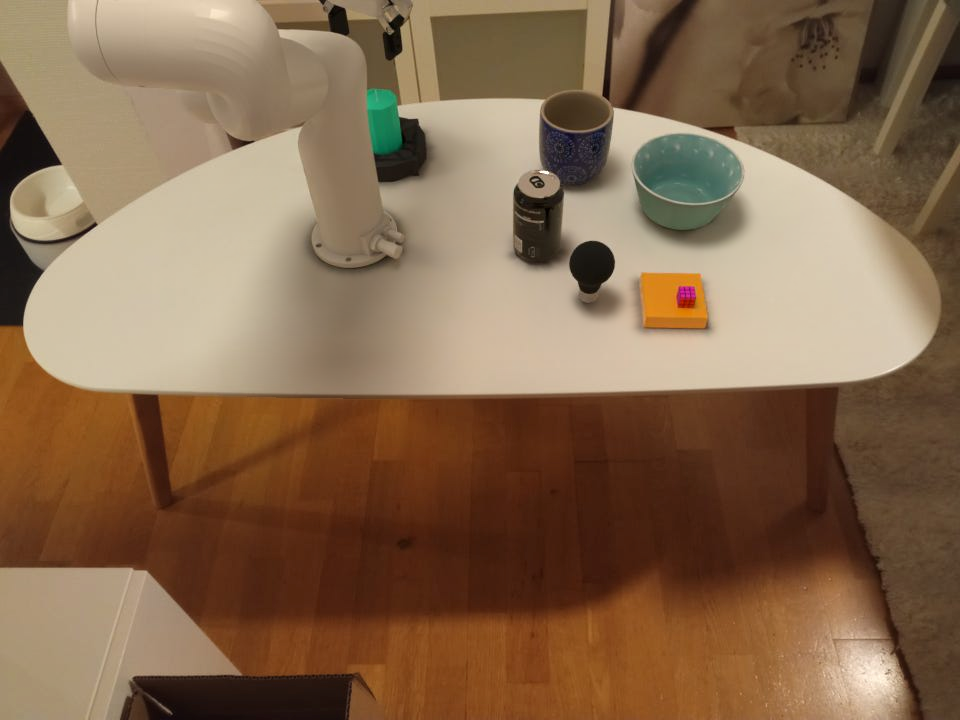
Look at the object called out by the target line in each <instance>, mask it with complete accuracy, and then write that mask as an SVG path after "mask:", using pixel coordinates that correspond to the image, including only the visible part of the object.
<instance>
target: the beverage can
mask: <svg viewBox="0 0 960 720" xmlns="http://www.w3.org/2000/svg"><path fill="white" fill-rule="evenodd" d="M512 196H513V197H512V245H513V249H514V251H515V253H516V254H517V255H519V256H520V257H521V258H523V259H525V260H528V261H532V262H541V261H546V260H549V259H551V258H553V257H554V256H555V255H557V254H558V252H559V251H560V248H561V244H562V243H561V241H562V231H563V230H562V229H563V217H564V216H563V215H564V201H565V191H564V188H563V184H562V183H560V180H559V178H558V177H557V176H556V175H555V174H553V173H552V172H549V171H546V170H544V169H533V170H529V171H526V172H525V173H523V174H522V175H521V176H520V177H519V178H518V182H517V183H516V185H514V188H513V193H512Z"/></svg>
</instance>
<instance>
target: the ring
mask: <svg viewBox="0 0 960 720" xmlns="http://www.w3.org/2000/svg"><path fill="white" fill-rule="evenodd" d="M399 121H400V128H401V136H402V143H403V146H402V148H400V149H399V150H397V151H395V152H392V153H389V154H374V153H373V154H374V160H375V166H376V172H377V177H378V183H388V182H396V181H400V180H403V179H406V178H408V177H417V176H420V169H421V168H422V167H423V165H424V163H425V162H426V160H427V155H428V153H427V151H428V149H427V140H426V133H425V131H424V130H423V128H422V127H421V126H420V121H419V118H417V117H416V118H407V117H402V116H399Z"/></svg>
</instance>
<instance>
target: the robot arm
mask: <svg viewBox="0 0 960 720" xmlns="http://www.w3.org/2000/svg"><path fill="white" fill-rule="evenodd" d="M318 1H319V2H320V4H321V5H322V7H321V8H322V11H323V13H324V14H326V15H327V19H328V20H327V21H328V25H329V30H330V31H325V30H311V29H310V30H309V29H293V28H291V29H282V28H281V29H280V28H278V27H277V25H276V23H275V21H274V19H273V18H272V16H271V15H270V13H269V12H268V11H267V10H266V9H265V7H264V6H262V4H261V3H259V2H258V1H257V0H67V9H66V21H67V32H68V37H69V41H70V45H71V48H72V50H73V52H74V54H75V56H76V58H77V60H78V61H79V63H80V65H81V66H82V67H83V68H85V70H87V72H88V73H89V74H90V75H92V76H94V77H95V78H98V79H99V80H101V81H103V82H106V83H108V84H112V85H113V84H114V85H116V86H123V87H131V88H132V87H133V88H134V87H135V88H148V89H149V88H150V89H166V90H175V94H176V96H177V98H178V100H179V102H180V104H181V106H182V107H183V108H184V110H185V111H186V112H187V113H188V114H189V115H190V116H192V118H193V119H195V120H197V121H199V122H201V123H204V124H210V125H217V126H220V127H221V128H222V129H223V130H224V131H225V132H226V133H227V134H228V135H230V136H231V137H233V138H235V139H237V140H240V141H245V142H252V141H259V140H261V139H264V138H266V137H268V136H270V135H273V134H276V133H279V132H282V131H285V130H288V129H290V128H293V127H296V126H299V125H301V124H303V125H302V127H301V128H300V131H299V133H298V136H297V137H298V139H297V150H298V154H299V159H300V162H301V165H302V168H303V169H302V170H303V172H304V173H303V174H304V176H305V180H306V185H307V186H308V187H307V188H308V191H309V196H310V198H311V199H310V200H311V202H312V207H313V211H314V214H315V217H316V224H315V226H314V227H313V229H312V232H311V244H312V247H313V251H314V252H315V254H316V255H317V257H318V258H320V260H322V262H325V263H326V264H329V265H331V266H334V267H338V268H344V269H346V268H347V269H354V268H362V267H367V266H369V265H372V264H375V263H377V262H379V261H380V260H382V259H383V258H385V257H386V256H389V257H391V258H393V259H394V260H398V258H400V257H401V255H402V252H403V247H402V246H401V245H399V244H402V243H404V242H405V238H406V235H405V234H404V233H403V232H402V233H401V232H399V231H398V227H397V222H396V221H395V218H393V216H392V215H390V213H388V211H386V210H384V207H383V202H382V196H381V189H380V184H379V183H380V182H378V177H377V172H376V166H375V160H374V154H373V148H372V142H371V136H370V130H369V123H368V113H367V91H368V65H367V60H366V56H365V53H364V51H363V49H362V48H361V46H360V45H359V44H358V43H357V42H356V41H355V40H354V39H353V38H350V37H348V35H349V34H350V27H349V21H348V15H347V10H349V11H352V12H356V13H359V14H362V15H365V16H369V17H372V18H376V19H377V21H378V22H379V23H380V25H381V27H382V28H383V29H384V32H382V42H383V43H382V44H383V50H384V57H385V60H387V61H389V62H391V61H392V60H394V59H395V58H396V57H398V56H399V55H400V54H401V53H403V38H402V31H401V30H402V29H401V28H402V27H403V26H404V25H405V23H407V21H408V20H409V19H410V15H411V12H412V10H413V7H414V3H413V1H412V0H318ZM396 7H397V8H396ZM386 13H387V14H388V15H389V17H390V18H391V20H390V19H389V18H388V17H387V15H386ZM397 243H398V244H397Z"/></svg>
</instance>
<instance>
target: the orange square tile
mask: <svg viewBox="0 0 960 720" xmlns="http://www.w3.org/2000/svg"><path fill="white" fill-rule="evenodd" d="M638 285H639V286H638V288H639V296H640V306H641V314H642V323H643V324H642V325H643V328H652V329H653V328H656V329H705V328H706V326H707V323H708V320H709V315H708V310H707V304H706V303H707V302H706V297H705V292H704V288H703V286H704V285H703V281H702V274H701V273H696V272H695V273H694V272H693V273H692V272H690V273H688V272H685V273H684V272H683V273H682V272H641V273H640V277H639V282H638Z"/></svg>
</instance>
